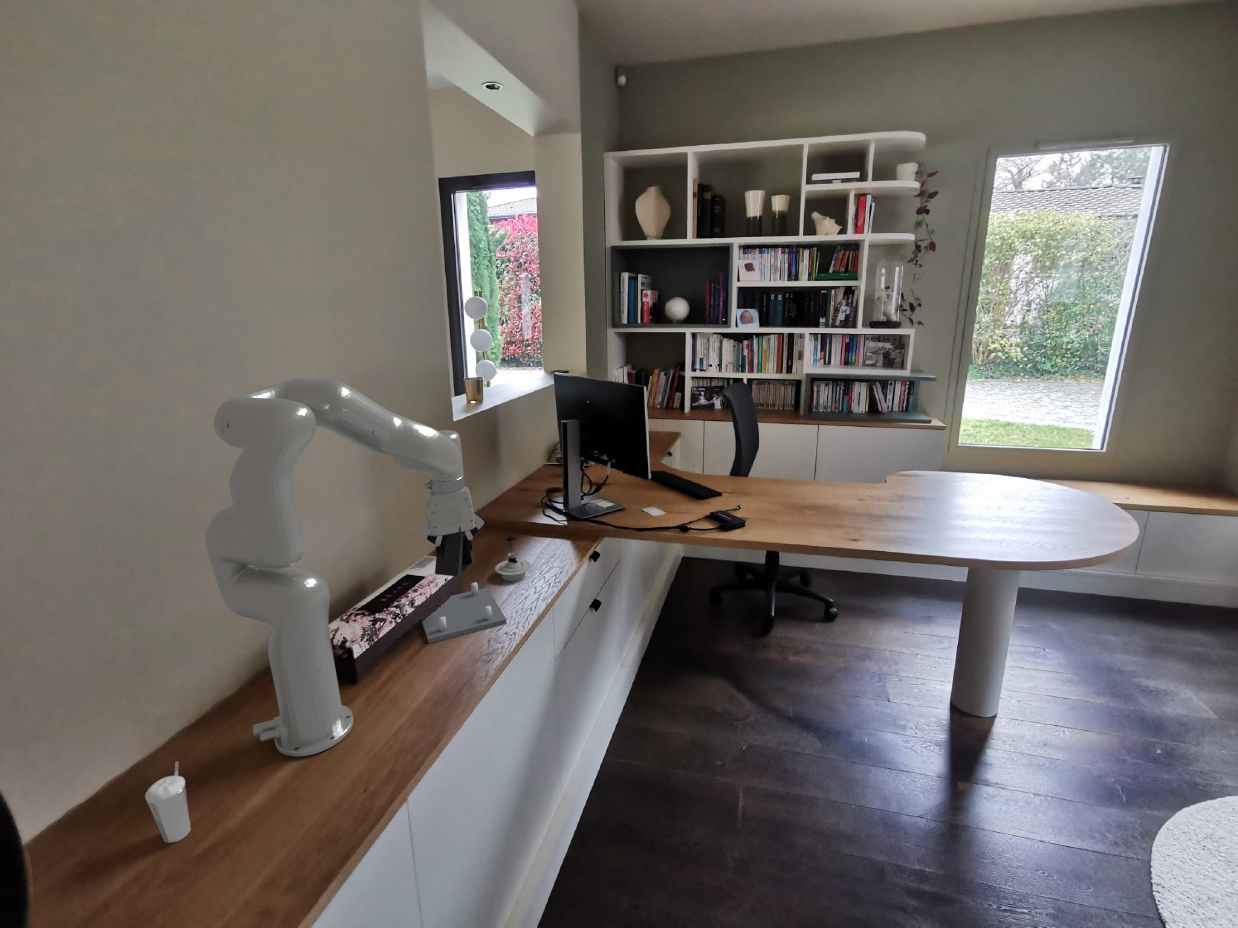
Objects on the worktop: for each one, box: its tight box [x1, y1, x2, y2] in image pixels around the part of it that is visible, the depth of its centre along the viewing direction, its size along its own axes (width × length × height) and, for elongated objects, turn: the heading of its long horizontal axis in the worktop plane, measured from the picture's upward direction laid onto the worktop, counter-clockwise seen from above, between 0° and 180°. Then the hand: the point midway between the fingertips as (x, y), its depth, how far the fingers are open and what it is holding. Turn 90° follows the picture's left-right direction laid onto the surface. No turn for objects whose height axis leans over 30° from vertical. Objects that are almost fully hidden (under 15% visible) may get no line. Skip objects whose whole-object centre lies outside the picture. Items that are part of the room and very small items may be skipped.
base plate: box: [420, 582, 508, 644], centre depth 145 cm, size 18×18×4 cm
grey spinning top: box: [494, 534, 532, 582], centre depth 164 cm, size 12×10×10 cm
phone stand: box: [434, 526, 477, 577], centre depth 140 cm, size 9×6×12 cm, turn 166°
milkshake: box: [144, 761, 192, 844], centre depth 86 cm, size 4×5×10 cm
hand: (454, 556), depth 141 cm, fingers closed on phone stand, 5 cm apart
